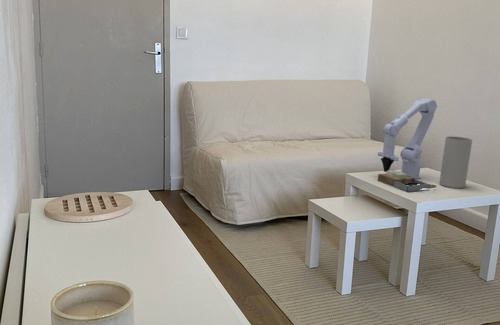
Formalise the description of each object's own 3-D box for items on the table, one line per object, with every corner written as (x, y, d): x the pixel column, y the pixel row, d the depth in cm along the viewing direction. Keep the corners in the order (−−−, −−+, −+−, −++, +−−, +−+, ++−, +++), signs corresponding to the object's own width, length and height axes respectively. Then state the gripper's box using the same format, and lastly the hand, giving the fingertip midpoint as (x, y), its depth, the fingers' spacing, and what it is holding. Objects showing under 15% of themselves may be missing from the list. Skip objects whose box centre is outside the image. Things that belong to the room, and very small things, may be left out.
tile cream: (394, 173, 253) (394, 170, 253) (399, 175, 249) (400, 172, 249) (386, 174, 251) (386, 170, 251) (392, 176, 247) (392, 172, 247)
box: (414, 185, 246) (415, 179, 245) (429, 190, 237) (430, 184, 236) (393, 186, 240) (394, 181, 239) (407, 192, 231) (408, 186, 230)
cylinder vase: (467, 185, 251) (474, 138, 245) (462, 190, 240) (469, 141, 235) (442, 181, 257) (448, 135, 252) (436, 185, 247) (443, 138, 242)
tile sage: (400, 176, 249) (401, 172, 248) (406, 178, 245) (407, 174, 244) (393, 176, 247) (393, 172, 246) (398, 178, 243) (399, 174, 242)
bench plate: (398, 179, 257) (399, 172, 256) (414, 184, 246) (415, 178, 245) (377, 180, 251) (378, 174, 250) (393, 186, 240) (393, 179, 240)
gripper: (374, 144, 257) (371, 168, 260) (392, 149, 244) (389, 175, 247) (384, 144, 260) (381, 168, 263) (402, 149, 247) (399, 174, 250)
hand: (386, 171), depth 255 cm, fingers closed
